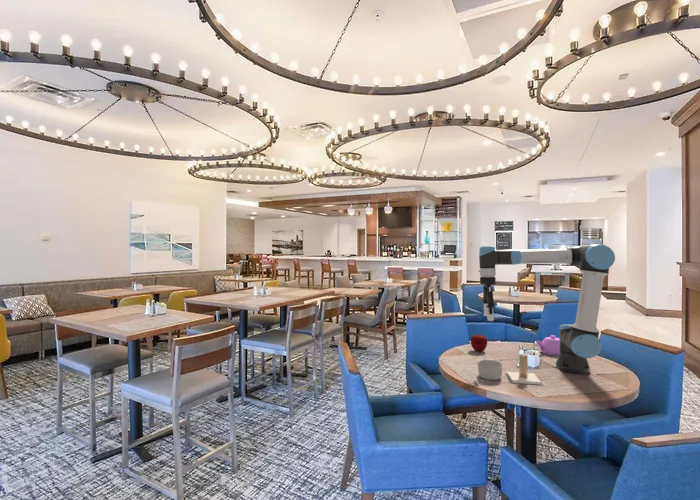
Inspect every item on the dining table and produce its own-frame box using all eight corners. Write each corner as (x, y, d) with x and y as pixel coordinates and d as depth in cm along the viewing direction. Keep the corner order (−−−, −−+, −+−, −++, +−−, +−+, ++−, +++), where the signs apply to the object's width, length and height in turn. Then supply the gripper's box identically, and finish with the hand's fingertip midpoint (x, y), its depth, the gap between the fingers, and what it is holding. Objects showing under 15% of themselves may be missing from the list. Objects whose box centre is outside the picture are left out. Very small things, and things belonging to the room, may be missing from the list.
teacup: (504, 384, 170) (504, 366, 170) (479, 382, 172) (479, 365, 172) (498, 374, 183) (498, 358, 183) (475, 372, 186) (475, 356, 186)
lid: (533, 376, 178) (533, 352, 178) (540, 384, 166) (540, 359, 166) (507, 374, 181) (507, 351, 181) (512, 382, 169) (512, 357, 169)
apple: (485, 354, 220) (485, 337, 220) (468, 351, 225) (468, 335, 225) (488, 350, 228) (488, 334, 228) (473, 348, 233) (473, 332, 233)
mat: (535, 377, 179) (535, 375, 179) (544, 387, 165) (543, 385, 165) (504, 375, 182) (504, 373, 182) (510, 385, 168) (510, 383, 168)
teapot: (529, 351, 227) (529, 333, 227) (557, 349, 230) (557, 332, 230) (545, 357, 213) (545, 339, 213) (575, 355, 217) (575, 337, 217)
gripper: (477, 275, 201) (477, 314, 201) (483, 278, 177) (484, 322, 177) (491, 275, 200) (492, 314, 200) (499, 278, 175) (500, 322, 175)
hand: (488, 318), depth 188 cm, fingers open, 13 cm apart
